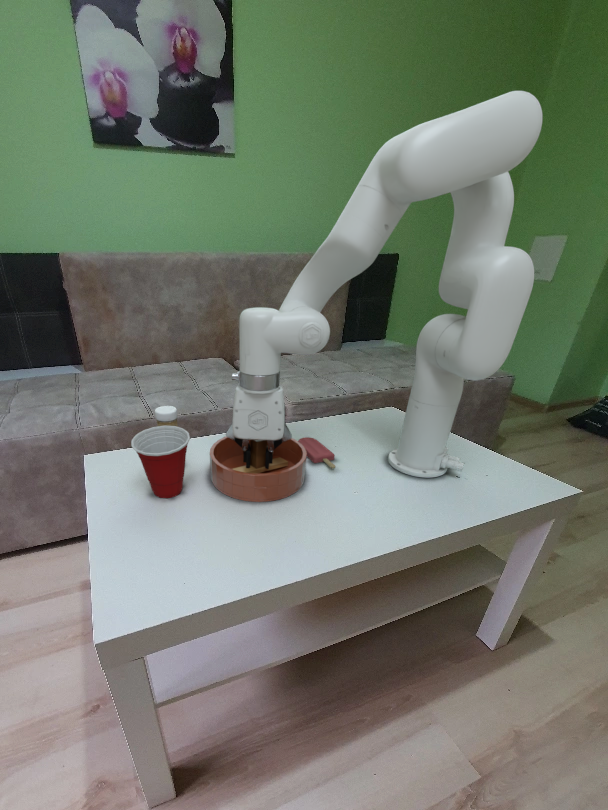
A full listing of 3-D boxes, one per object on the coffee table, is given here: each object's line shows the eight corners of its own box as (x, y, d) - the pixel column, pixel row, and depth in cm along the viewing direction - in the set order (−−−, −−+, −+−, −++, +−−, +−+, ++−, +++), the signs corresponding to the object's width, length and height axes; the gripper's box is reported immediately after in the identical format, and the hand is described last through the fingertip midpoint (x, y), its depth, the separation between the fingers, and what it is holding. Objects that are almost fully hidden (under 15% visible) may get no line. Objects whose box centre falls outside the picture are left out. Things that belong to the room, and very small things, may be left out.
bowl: (320, 471, 85) (323, 446, 82) (270, 514, 71) (271, 487, 68) (248, 446, 95) (248, 424, 92) (191, 480, 81) (189, 455, 78)
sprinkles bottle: (157, 465, 87) (150, 408, 80) (174, 458, 90) (168, 403, 83) (168, 472, 84) (162, 414, 77) (186, 465, 87) (181, 409, 80)
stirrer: (279, 461, 87) (281, 431, 84) (288, 465, 85) (289, 435, 82) (225, 474, 80) (225, 442, 77) (233, 479, 78) (233, 447, 75)
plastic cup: (128, 500, 75) (117, 444, 69) (158, 473, 84) (151, 422, 77) (177, 511, 72) (171, 454, 66) (203, 482, 81) (199, 430, 74)
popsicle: (323, 466, 84) (294, 438, 96) (322, 472, 84) (293, 444, 96) (345, 462, 85) (313, 435, 97) (344, 468, 86) (312, 441, 98)
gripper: (212, 384, 70) (216, 472, 79) (304, 387, 69) (297, 476, 78) (219, 373, 76) (222, 455, 86) (303, 375, 75) (296, 459, 84)
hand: (257, 464), depth 82 cm, fingers closed on stirrer, 3 cm apart
